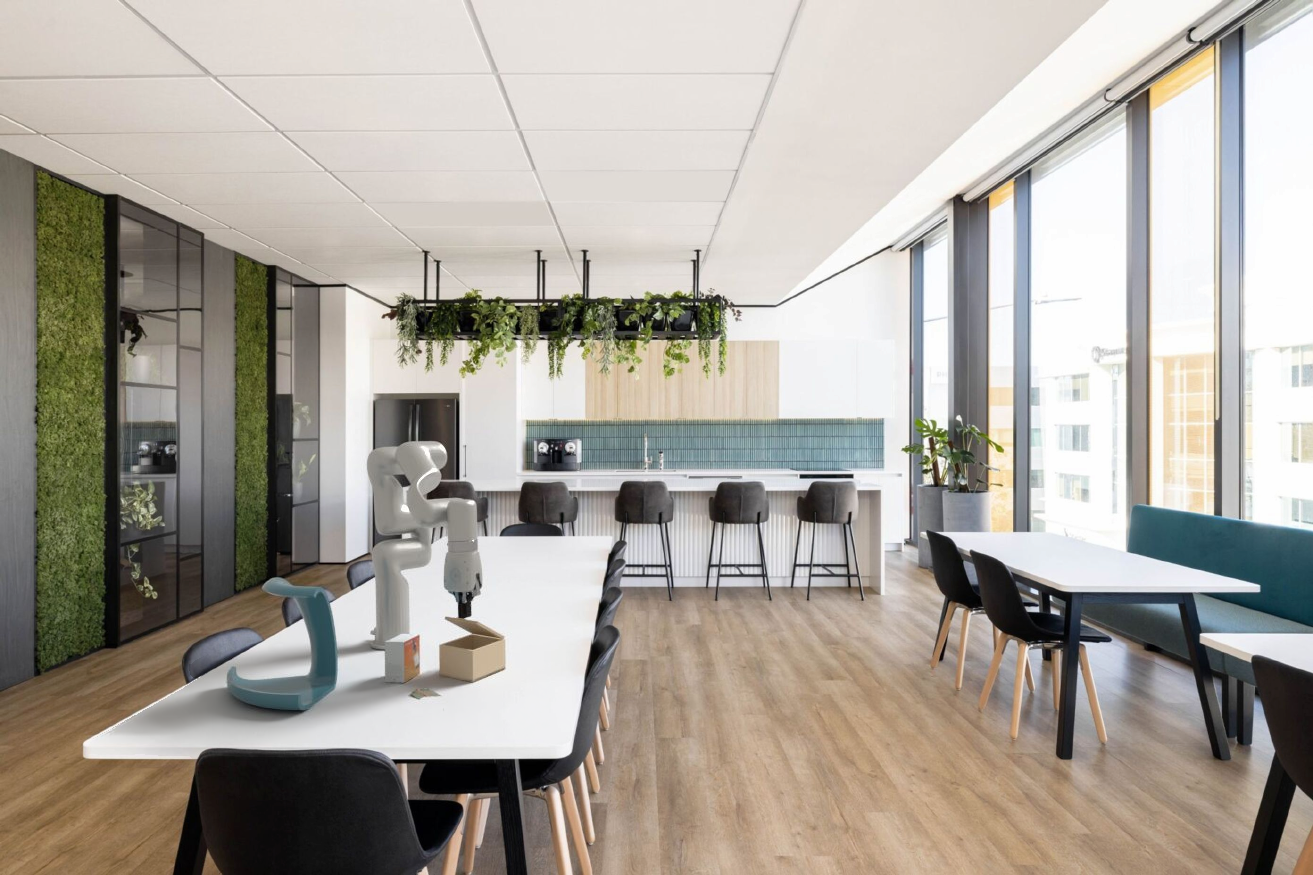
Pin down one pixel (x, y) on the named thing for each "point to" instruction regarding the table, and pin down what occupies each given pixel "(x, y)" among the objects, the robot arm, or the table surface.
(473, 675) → the carton
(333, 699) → the table surface
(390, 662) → the small box
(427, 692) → the map
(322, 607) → the headphone stand
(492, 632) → the lid
